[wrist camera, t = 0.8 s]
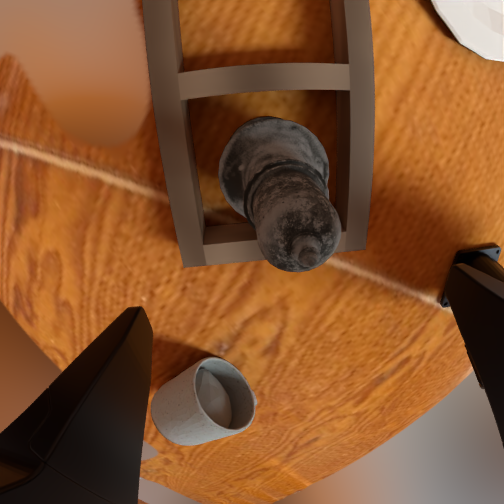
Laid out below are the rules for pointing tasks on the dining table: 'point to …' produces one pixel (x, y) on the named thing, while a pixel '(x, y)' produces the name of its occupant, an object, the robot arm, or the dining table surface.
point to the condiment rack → (253, 80)
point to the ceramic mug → (204, 403)
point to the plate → (475, 24)
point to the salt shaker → (282, 191)
